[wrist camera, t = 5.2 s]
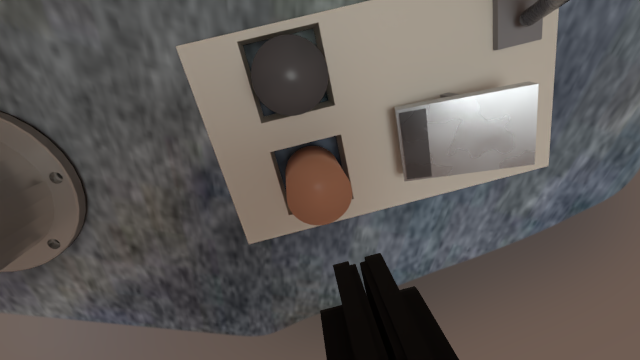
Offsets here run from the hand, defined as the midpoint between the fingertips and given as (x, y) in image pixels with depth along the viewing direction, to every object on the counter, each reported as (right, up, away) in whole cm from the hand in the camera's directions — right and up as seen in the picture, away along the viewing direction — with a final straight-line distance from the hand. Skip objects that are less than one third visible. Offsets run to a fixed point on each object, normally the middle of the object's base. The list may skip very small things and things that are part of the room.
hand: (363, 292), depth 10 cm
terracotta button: (-2, +4, +12) cm, 13 cm away
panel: (+3, +9, +13) cm, 16 cm away
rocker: (+8, +7, +9) cm, 14 cm away
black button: (-4, +11, +9) cm, 15 cm away
